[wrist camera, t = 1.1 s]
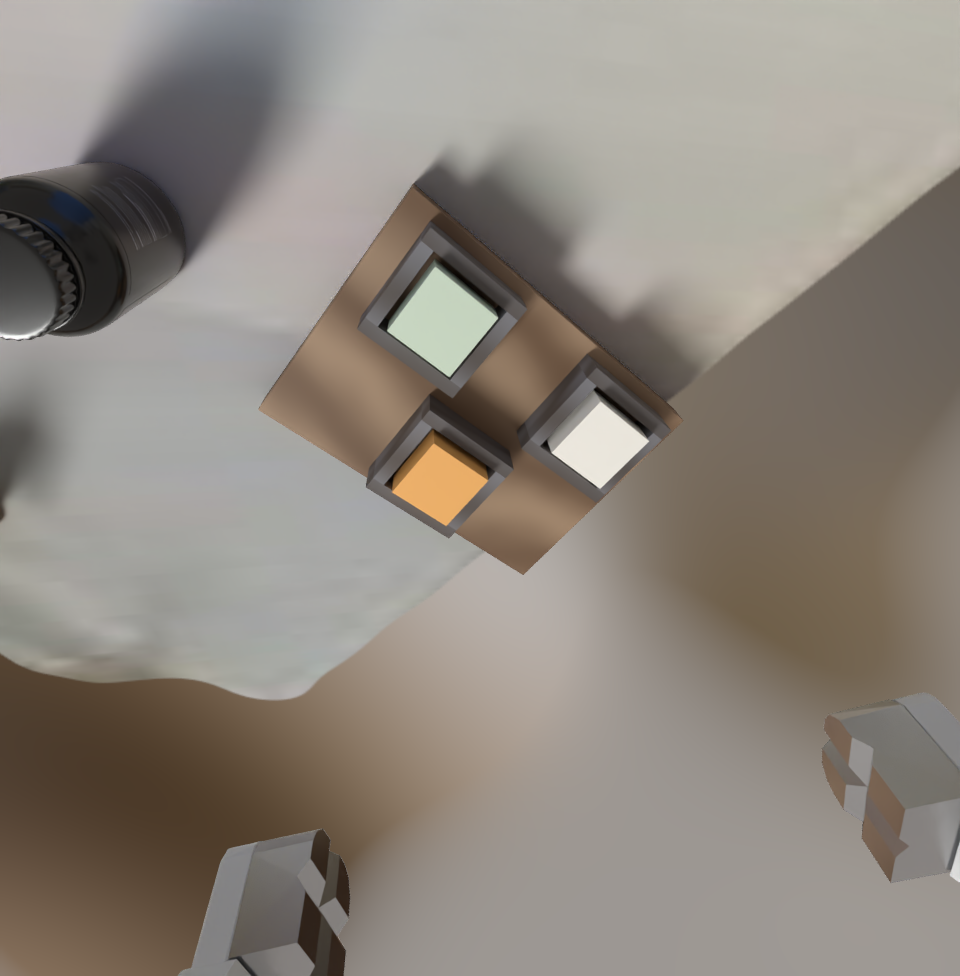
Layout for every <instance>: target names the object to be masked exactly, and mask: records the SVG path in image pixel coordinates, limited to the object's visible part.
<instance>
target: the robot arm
mask: <svg viewBox="0 0 960 976" xmlns="http://www.w3.org/2000/svg"><path fill="white" fill-rule="evenodd" d="M824 731H825V732H826V734H827V735H828V737H829V738H830V740H829V741H828V742H827V743H826V744H825V745H824V747H823V748H822V765H823V768H824V772H825V775H826V779H827V781H828V783H829V785H830V788H831V789H832V792H833V794H834V795H835V797H836V799H837V800H838V802H839V803H840V805H841V806H842V808H843V810H845V811H846V812H848V813H850V814H851V815H853V816H854V817H856V818H858V819H859V820H861V821H862V822H863V824H862V839H863V841H864V842H865V844H866V846H867V847H868V849H869V850H870V852H871V853H872V855H873V857H874V858H875V860H876V861H877V863H878V864H879V866H880V867H881V869H882V870H883V872H884V873H885V875H886V876H887V878H888V879H889V881H890V883H893V882H898V881H904V880H909V879H915V878H920V877H925V876H931V875H936V874H942V873H947V872H951V873H950V876H951V877H953V878H954V879H955V880H957V881H958V882H960V723H959V722H958V720H957V719H956V718H955V717H954V716H953V715H952V714H951V713H950V712H949V711H948V710H947V709H946V708H945V707H944V706H943V705H942V703H940V702H939V700H938V699H937V698H935V697H934V696H932V695H930V694H928V693H918V694H915V695H910V696H906V697H902V698H898V699H894V700H885V701H881V702H877V703H873V704H869V705H865V706H861V707H857V708H852V709H848V710H845V711H840V712H836V713H832V714H829V715H828V716H827V717H826V718H825V721H824ZM330 841H331V840H330V838H329V837H328V836H327V834H326V832H325V831H324V829H319V830H314V831H309V832H305V833H300V834H295V835H291V836H286V837H282V838H277V839H272V840H268V841H260V842H256V843H252V844H247V845H243V846H238V847H234V848H230V849H228V850H227V852H226V854H225V856H224V857H223V859H222V861H221V863H220V866H219V870H218V873H217V877H216V881H215V884H214V888H213V891H212V895H211V899H210V902H209V906H208V910H207V913H206V917H205V920H204V924H203V928H202V931H201V935H200V938H199V942H198V946H197V949H196V953H195V957H194V961H193V964H192V967H191V968H190V969H186V970H182V971H181V972H180V974H179V975H178V976H344V967H345V956H346V950H345V948H344V946H343V945H342V943H341V941H340V940H339V938H338V935H339V934H340V931H341V930H342V929H343V927H344V925H345V924H346V922H347V921H348V919H349V909H350V908H349V907H350V888H349V877H348V874H347V870H346V867H345V864H344V862H343V860H342V859H341V857H340V856H339V855H337V854H335V853H333V852H330V851H329V849H330Z"/></svg>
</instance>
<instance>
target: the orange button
mask: <svg viewBox="0 0 960 976" xmlns="http://www.w3.org/2000/svg"><path fill="white" fill-rule="evenodd" d="M487 482H488V476H487V470H486V465H485V464H484V463H482V462H481V461H479V460H478V459H476V458H475V457H473V456H472V455H471V454H469V453H468V452H466V451H465V450H463V449H462V448H460V447H459V446H458V445H456V444H455V443H453V442H452V441H450V440H449V439H447V438H446V437H445V436H443V435H442V434H440V433H439V432H437V431H436V430H434V429H433V430H432V431H431V432H430V433H429V435H428V436H427V437H426V438H425V439H424V441H423V442H422V443H421V444H420V445H419V446H418V448H417V449H416V450H415V451H414V452H413V454H412V455H411V456H410V457H409V458H408V459H407V461H406V462H405V463H404V464H403V465H402V467H401V468H400V469H399V470H398V471H397V472H396V474H395V475H394V476H393V487H392V493H394V494H396V495H397V496H399V497H400V498H402V499H404V500H405V501H407V502H408V503H410V504H412V505H413V506H415V507H416V508H418V509H420V510H421V511H423V512H424V513H426V514H428V515H429V516H431V517H432V518H434V519H436V520H437V521H439V522H440V523H442V524H444V525H445V526H447V525H448V524H449V523H450V521H451V520H452V519H453V518H454V517H455V516H456V515H457V514H458V513H459V512H460V511H461V510H462V509H463V507H464V506H465V505H466V504H467V503H468V502H469V501H470V500H471V499H472V498H473V497H474V496H475V495H476V493H477V492H478V491H479V490H480V489H481V488H482V487H483V486H484V485H485V484H486V483H487Z"/></svg>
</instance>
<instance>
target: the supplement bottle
mask: <svg viewBox="0 0 960 976" xmlns="http://www.w3.org/2000/svg"><path fill="white" fill-rule="evenodd" d="M184 254H185V236H184V230H183V227H182V223H181V221H180V218H179V216H178V214H177V212H176V210H175V208H174V206H173V205H172V203H171V202H170V200H169V199H168V198H167V196H166V195H165V194H164V193H163V192H162V191H161V189H160V188H158V187H157V186H156V185H155V184H154V183H153V182H152V181H150V180H149V179H148V178H146V177H145V176H143V175H142V174H140V173H138V172H137V171H135V170H132V169H130V168H128V167H125V166H123V165H119V164H115V163H109V162H91V163H84V164H77V165H72V166H66V167H60V168H55V169H49V170H44V171H38V172H32V173H27V174H21V175H16V176H10V177H6V178H2V179H0V337H2V338H4V339H6V340H10V339H14V340H17V341H21V340H23V339H27V340H32V339H34V338H36V337H41V336H44V335H46V334H49V335H55V336H64V337H74V336H82V335H87V334H91V333H94V332H96V331H99V330H101V329H103V328H104V327H106V326H108V325H110V324H111V323H113V322H114V321H115V320H117V319H118V318H120V317H121V316H123V315H124V314H126V313H127V312H128V311H130V310H131V309H133V308H134V307H136V306H137V305H139V304H140V303H142V302H143V301H144V300H146V299H147V298H149V297H150V296H152V295H153V294H155V293H156V292H158V291H159V290H160V289H162V288H163V287H164V286H166V285H167V284H168V283H169V282H170V281H171V280H172V279H173V278H174V277H175V276H176V274H177V273H178V271H179V269H180V267H181V265H182V262H183V259H184Z"/></svg>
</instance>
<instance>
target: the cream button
mask: <svg viewBox="0 0 960 976" xmlns="http://www.w3.org/2000/svg"><path fill="white" fill-rule="evenodd" d="M547 442H548V445H549V447H550V450H551V453H552V454H554V455H555V456H556V457H558V458H559V459H561V460H562V461H563V462H565V463H566V464H567V465H569V466H570V467H571V468H573V469H574V470H575V471H577V472H578V473H579V474H581V475H582V476H583V477H585V478H586V479H588V480H589V481H590V482H592V483H593V484H594V485H596V486H597V487H598V488H600V489H601V488H602V487H603V486H604V485H605V484H606V483H607V482H608V481H609V480H610V479H611V478H612V477H613V476H614V475H615V474H616V473H617V472H618V471H619V470H620V469H621V468H622V467H623V466H624V465H625V464H626V463H627V462H628V461H629V460H630V459H631V458H632V457H633V456H634V455H636V454H637V453H638V452H639V451H640V450H641V449H642V448H643V447H644V446H645V445H646V444H647V443H648V442H649V440H648V439H647V437H646V436H645V434H644V433H643V431H642V430H641V428H640V427H639V426H638V425H637V424H635V423H634V422H633V421H632V420H630V419H629V418H628V417H627V416H626V415H624V414H623V413H622V412H621V411H620V410H618V409H617V408H616V407H615V406H613V405H612V404H611V403H610V402H609V401H607V400H606V399H605V398H604V397H602V396H601V395H600V394H599V393H598V392H596V391H595V390H594V389H593V390H592V392H591V393H590V394H589V395H588V396H587V397H586V398H585V399H584V400H583V401H582V402H581V403H580V404H579V405H578V406H577V407H576V408H575V410H574V411H573V412H572V413H571V414H570V415H569V416H568V417H567V418H566V419H565V420H564V421H563V422H562V423H561V424H560V425H559V426H558V428H557V429H556V430H555V431H554V432H553V433H552V434H551V435H550V436H549V437H548V438H547Z"/></svg>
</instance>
